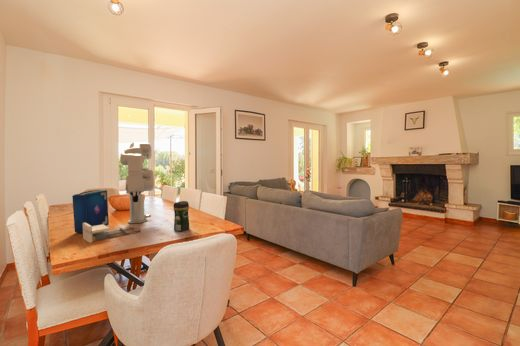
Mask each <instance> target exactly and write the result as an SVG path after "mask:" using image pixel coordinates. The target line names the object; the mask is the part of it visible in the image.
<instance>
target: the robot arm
mask: <svg viewBox="0 0 520 346" xmlns="http://www.w3.org/2000/svg"><path fill="white" fill-rule="evenodd" d="M151 158H152V147H151V144H150V143H148V142H140V141H139V142H138V141H137V142H132V143H131V144H130V145H129V148H127V149H124V150H123V151H121V154H120V158H119V160H120V164H122V166H127V172H128V173H127V176H126V179H125V194H127V195H129V196H128V197H129V218H130V219H128V220H127V223H128V224H142V223H145V222H147V221H148V219H147V218H151V217H152V215H151V214H145V197H144V195H143V194H142V193H144V192H151V191H154V189H155V175H154V171H153V169H152V168H150V167H149V168H147V167H144V165H143V164H144V163H145V160H146V161H147V160H150V159H151Z"/></svg>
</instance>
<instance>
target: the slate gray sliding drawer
mask: <svg viewBox="0 0 520 346" xmlns="http://www.w3.org/2000/svg"><path fill="white" fill-rule="evenodd" d="M125 229H126V228H123V227H119V229H115V230H108V231H104V232H103V233H98V234H92V235H93V236H95V241H99V240H104V239H110V238H109V236H111V235H116V234H121V233H126V231H125Z"/></svg>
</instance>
